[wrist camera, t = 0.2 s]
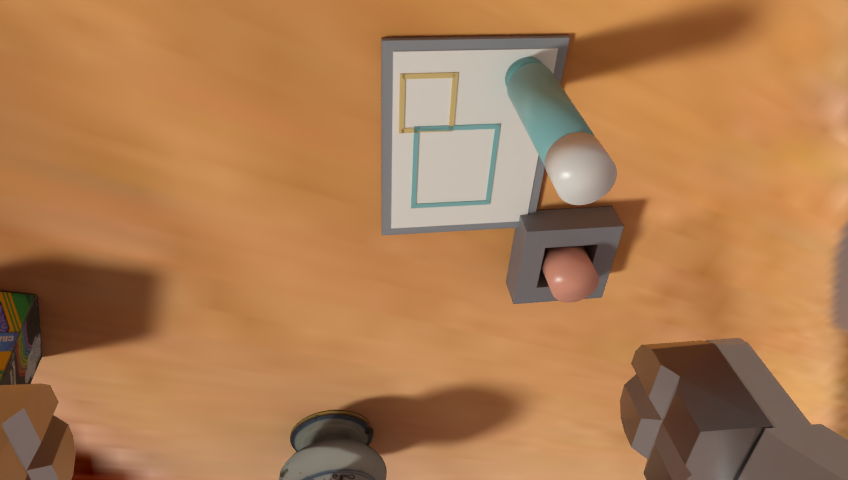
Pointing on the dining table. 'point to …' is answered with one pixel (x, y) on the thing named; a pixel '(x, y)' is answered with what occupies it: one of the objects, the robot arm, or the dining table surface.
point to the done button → (569, 273)
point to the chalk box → (19, 338)
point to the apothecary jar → (333, 449)
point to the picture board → (458, 133)
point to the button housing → (560, 229)
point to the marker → (559, 133)
